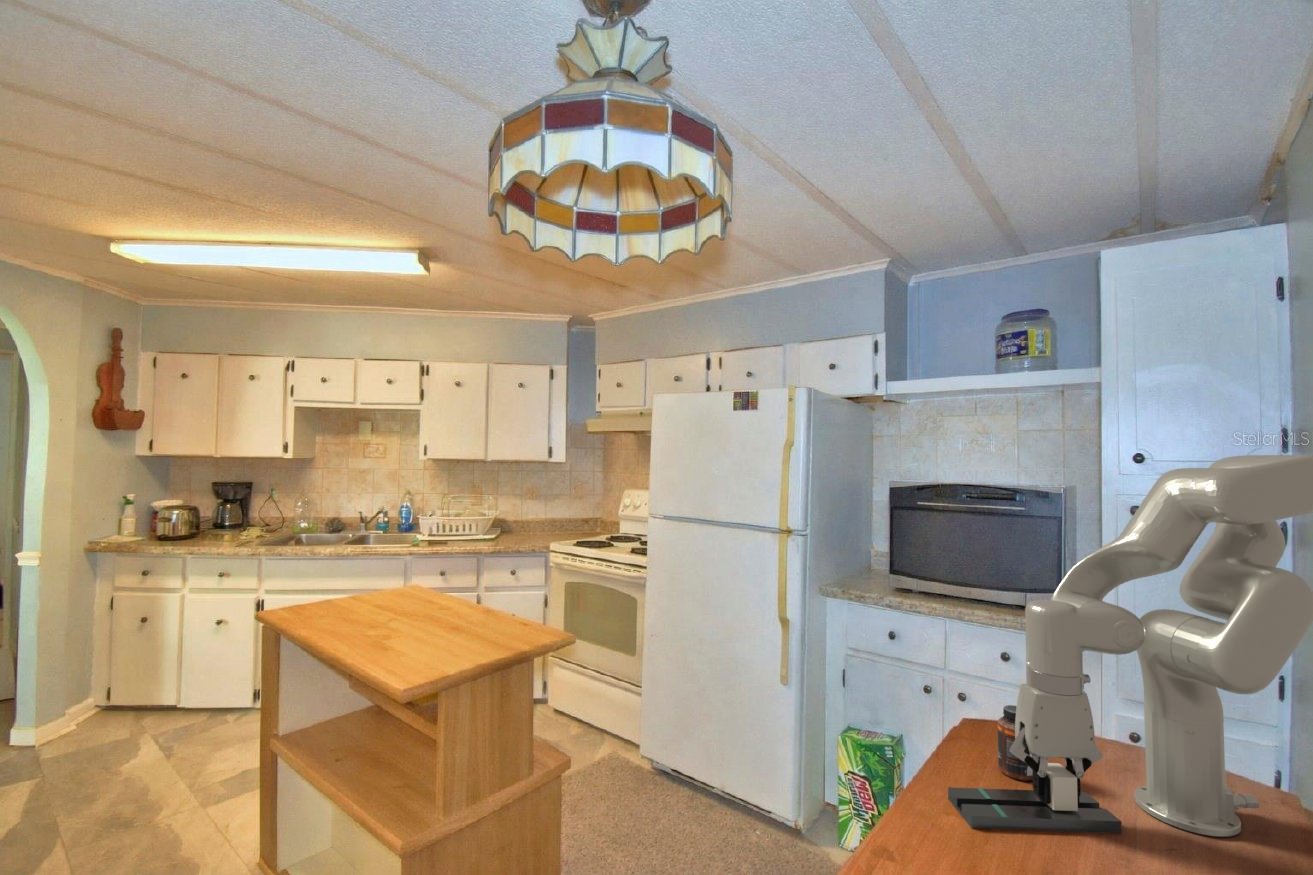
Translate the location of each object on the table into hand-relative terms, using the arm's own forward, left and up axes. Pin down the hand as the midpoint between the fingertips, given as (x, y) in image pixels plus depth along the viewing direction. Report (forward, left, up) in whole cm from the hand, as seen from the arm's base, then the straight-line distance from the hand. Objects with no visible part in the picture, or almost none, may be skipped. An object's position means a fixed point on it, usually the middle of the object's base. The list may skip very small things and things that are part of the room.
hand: (1056, 798), depth 94 cm
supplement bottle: (-1, -13, -3) cm, 13 cm away
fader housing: (+4, 0, -3) cm, 5 cm away
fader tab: (0, 0, -2) cm, 2 cm away
